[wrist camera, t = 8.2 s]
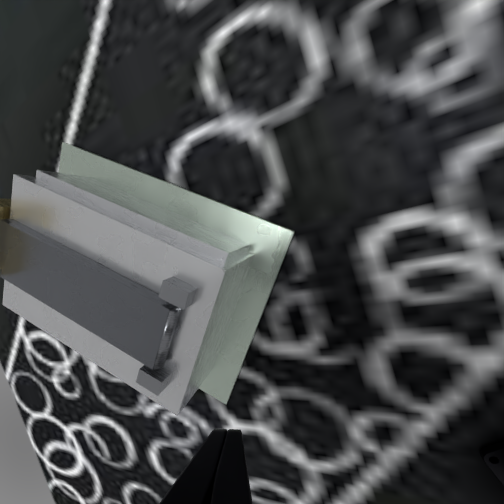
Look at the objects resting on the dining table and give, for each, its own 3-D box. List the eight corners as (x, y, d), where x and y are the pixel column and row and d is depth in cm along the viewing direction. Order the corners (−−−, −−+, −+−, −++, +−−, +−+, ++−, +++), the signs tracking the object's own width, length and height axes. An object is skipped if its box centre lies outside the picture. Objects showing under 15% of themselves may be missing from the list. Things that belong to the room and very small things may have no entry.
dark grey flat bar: (183, 307, 14) (175, 312, 13) (166, 364, 15) (158, 372, 14) (13, 218, 17) (-2, 219, 16) (8, 270, 18) (-6, 273, 17)
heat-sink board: (295, 230, 17) (259, 249, 9) (229, 397, 21) (160, 522, 13) (71, 144, 22) (-92, 102, 14) (51, 293, 26) (-87, 333, 17)
